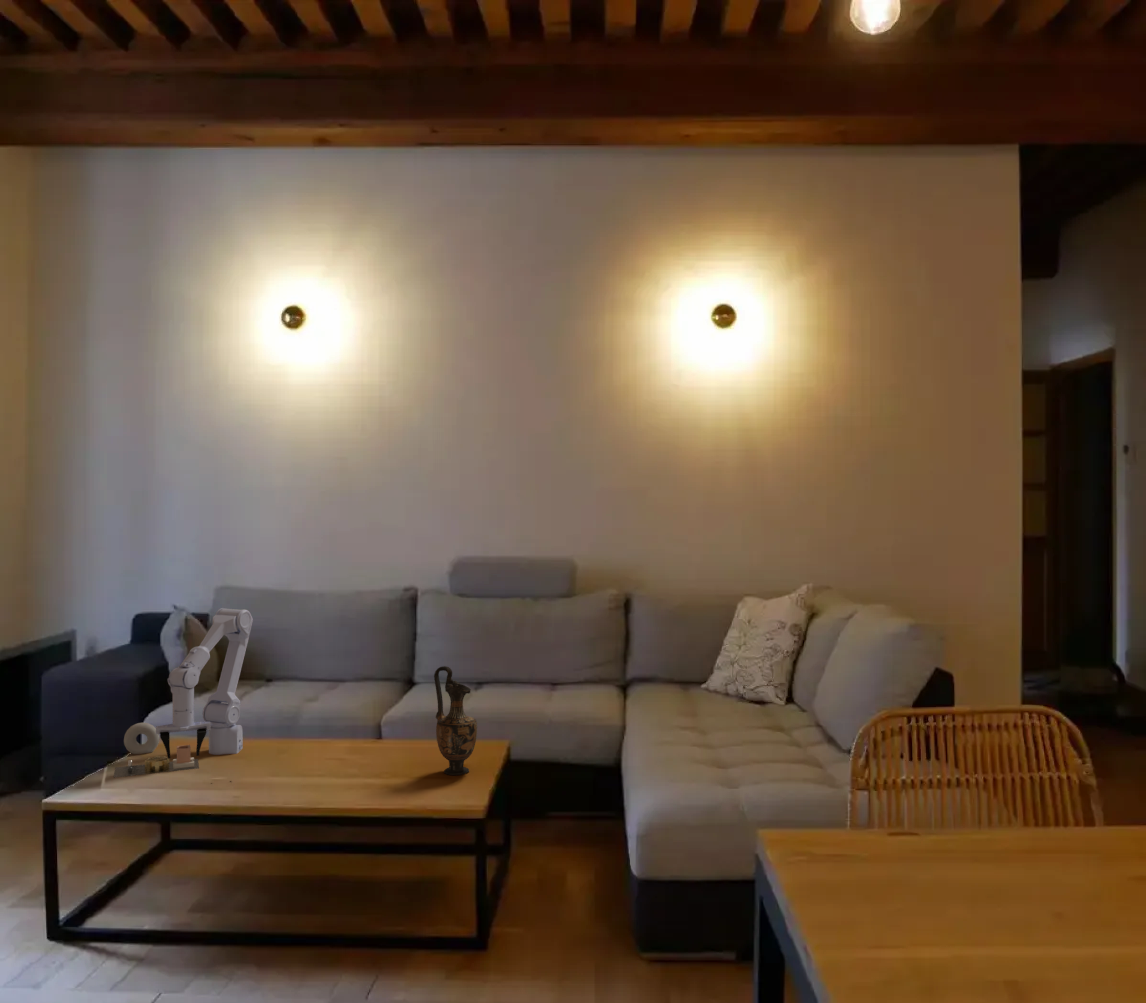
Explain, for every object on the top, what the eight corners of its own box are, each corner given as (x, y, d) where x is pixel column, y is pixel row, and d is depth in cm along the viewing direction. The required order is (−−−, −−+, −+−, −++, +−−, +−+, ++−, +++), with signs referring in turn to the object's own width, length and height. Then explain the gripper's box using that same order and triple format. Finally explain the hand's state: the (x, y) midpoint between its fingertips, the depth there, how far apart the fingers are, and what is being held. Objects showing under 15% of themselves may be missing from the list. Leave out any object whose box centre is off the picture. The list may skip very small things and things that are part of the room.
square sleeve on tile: (193, 761, 277) (193, 743, 277) (194, 766, 271) (194, 748, 271) (173, 763, 274) (172, 745, 274) (173, 768, 269) (173, 750, 269)
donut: (122, 758, 283) (122, 724, 283) (125, 754, 287) (125, 722, 286) (158, 756, 285) (158, 723, 285) (160, 753, 289) (160, 720, 289)
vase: (469, 778, 264) (469, 671, 263) (427, 776, 266) (427, 669, 266) (482, 766, 275) (482, 664, 275) (441, 764, 278) (441, 662, 277)
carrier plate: (197, 762, 279) (197, 748, 279) (199, 771, 270) (199, 757, 270) (115, 771, 270) (115, 757, 270) (113, 781, 261) (113, 766, 261)
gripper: (155, 714, 266) (155, 762, 266) (210, 710, 272) (210, 757, 272) (155, 709, 273) (155, 756, 273) (209, 704, 278) (209, 750, 278)
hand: (183, 756), depth 273 cm, fingers open, 7 cm apart
